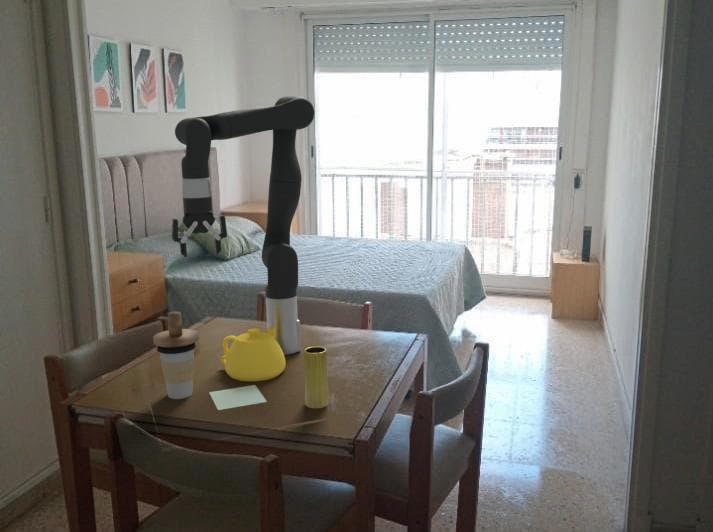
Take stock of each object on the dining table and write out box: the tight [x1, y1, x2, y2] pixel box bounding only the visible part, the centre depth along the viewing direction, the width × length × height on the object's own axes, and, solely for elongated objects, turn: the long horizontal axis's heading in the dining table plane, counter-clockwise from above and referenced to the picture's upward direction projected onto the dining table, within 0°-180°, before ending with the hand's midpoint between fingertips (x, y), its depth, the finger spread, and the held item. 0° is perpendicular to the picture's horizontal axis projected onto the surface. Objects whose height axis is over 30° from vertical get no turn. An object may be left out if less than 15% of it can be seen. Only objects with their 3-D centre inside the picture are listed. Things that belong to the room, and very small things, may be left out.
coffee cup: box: [156, 342, 197, 400], centre depth 173 cm, size 9×9×15 cm
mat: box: [208, 384, 268, 411], centre depth 172 cm, size 12×12×1 cm
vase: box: [303, 345, 330, 409], centre depth 165 cm, size 6×6×14 cm
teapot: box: [220, 327, 286, 383], centre depth 190 cm, size 20×19×13 cm
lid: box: [152, 311, 200, 347], centre depth 170 cm, size 11×11×7 cm
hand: (201, 255), depth 184 cm, fingers open, 8 cm apart
